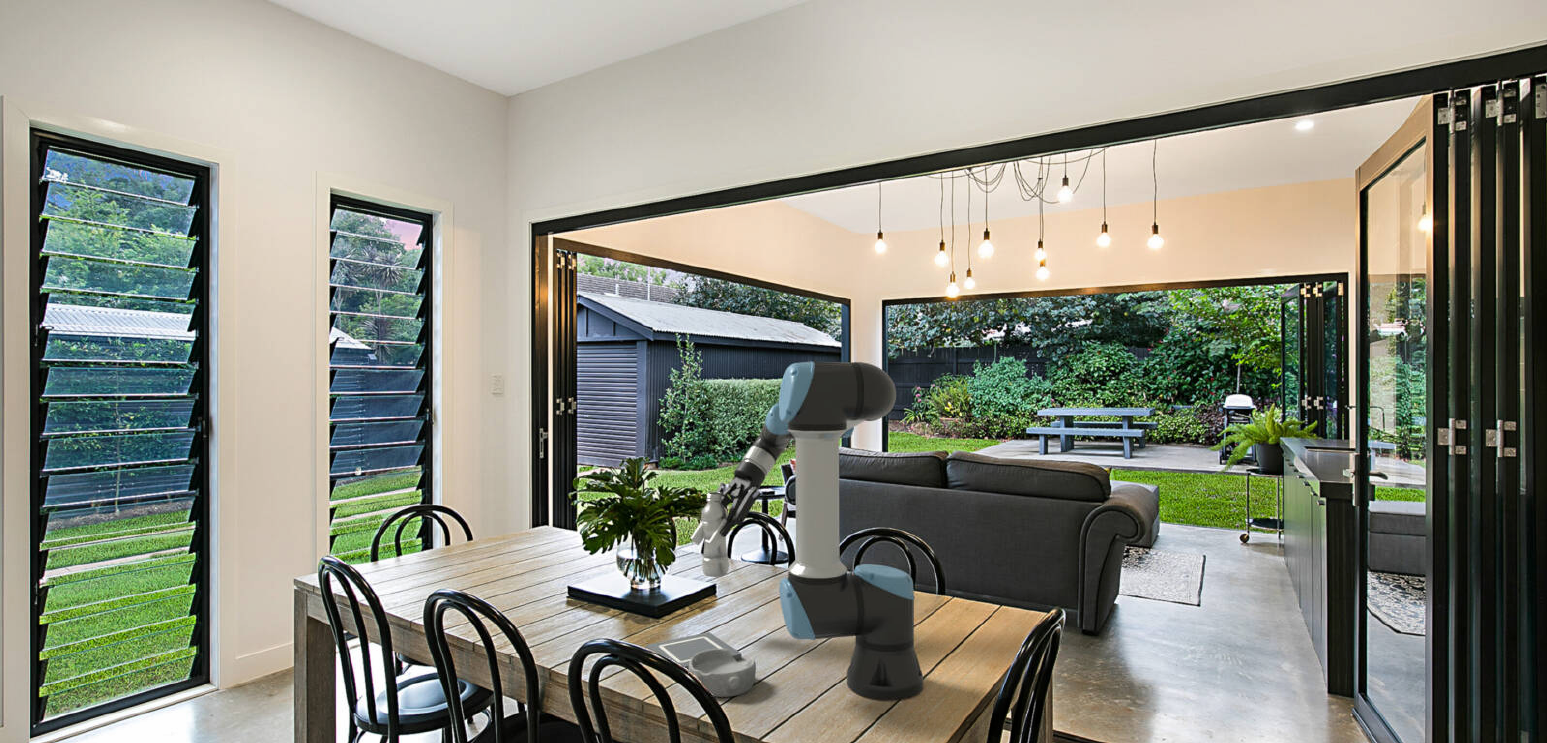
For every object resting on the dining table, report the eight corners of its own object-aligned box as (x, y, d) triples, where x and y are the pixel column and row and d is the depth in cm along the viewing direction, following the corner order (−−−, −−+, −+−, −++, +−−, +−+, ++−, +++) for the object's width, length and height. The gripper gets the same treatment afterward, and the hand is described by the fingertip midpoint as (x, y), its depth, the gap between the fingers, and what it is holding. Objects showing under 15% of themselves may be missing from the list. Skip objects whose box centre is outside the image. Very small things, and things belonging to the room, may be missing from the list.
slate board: (741, 659, 161) (741, 653, 161) (673, 674, 153) (673, 668, 153) (709, 637, 175) (709, 632, 175) (645, 650, 166) (645, 644, 166)
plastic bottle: (734, 575, 178) (733, 492, 178) (717, 581, 172) (716, 496, 173) (713, 571, 181) (712, 490, 182) (696, 577, 176) (695, 494, 176)
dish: (707, 667, 157) (707, 644, 157) (767, 677, 151) (766, 653, 152) (672, 694, 143) (672, 669, 143) (736, 706, 138) (736, 680, 138)
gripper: (787, 481, 181) (737, 559, 169) (737, 475, 195) (688, 547, 183) (771, 462, 177) (719, 540, 166) (721, 456, 191) (670, 528, 180)
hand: (703, 543), depth 174 cm, fingers closed on plastic bottle, 6 cm apart
